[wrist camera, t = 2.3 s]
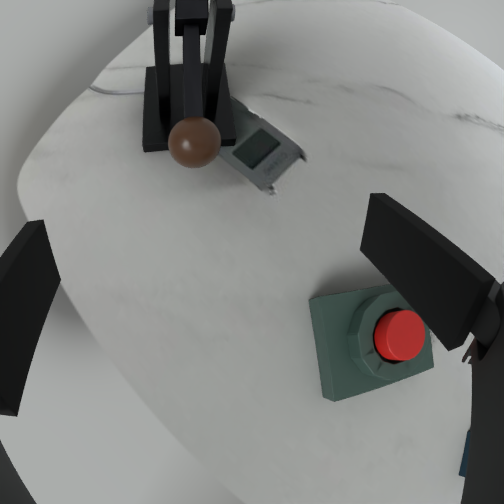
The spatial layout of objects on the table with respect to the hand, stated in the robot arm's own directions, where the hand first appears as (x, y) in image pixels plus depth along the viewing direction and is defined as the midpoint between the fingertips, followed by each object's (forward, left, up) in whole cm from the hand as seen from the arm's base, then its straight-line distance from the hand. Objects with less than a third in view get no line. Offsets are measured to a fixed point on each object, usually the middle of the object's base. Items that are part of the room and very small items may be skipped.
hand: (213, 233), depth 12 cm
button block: (+13, -6, -13) cm, 19 cm away
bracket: (0, +17, -13) cm, 21 cm away
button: (+13, -6, -9) cm, 17 cm away
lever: (0, +13, -5) cm, 14 cm away
